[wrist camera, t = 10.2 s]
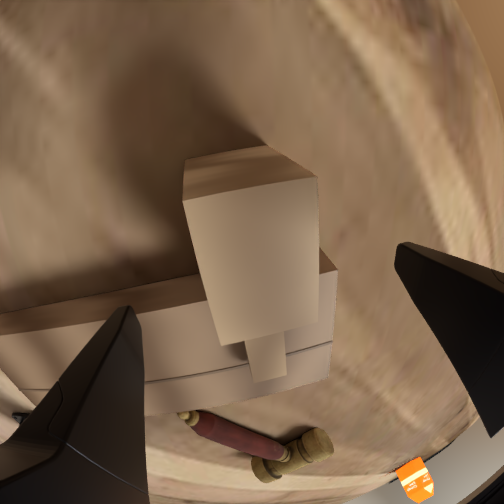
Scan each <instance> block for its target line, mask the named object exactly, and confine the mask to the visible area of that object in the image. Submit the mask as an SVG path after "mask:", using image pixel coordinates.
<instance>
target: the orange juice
mask: <svg viewBox="0 0 504 504" xmlns="http://www.w3.org/2000/svg"><path fill="white" fill-rule="evenodd" d="M396 473H397V475H398V477H399V479H400V481H401V483H402V485H403V487H404V489H405V491H406V493H407V495H408V497H409V498H411V499H412V500H414V501H415V502H417V503H420V502H421V501H423V500H425V499H427V498H429V497H431V496H432V495H433V481H432V478H431V477H430V475H429V473H428V471H427V469H426V467H425V465H424V463H423V461H422V460H421V458H420V457H419V458H417V459H415V460H412V461H410V462H409V463H407V464H406V465H404V466H403V467H401V468H400V469H398V470H397V471H396Z"/></svg>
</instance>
